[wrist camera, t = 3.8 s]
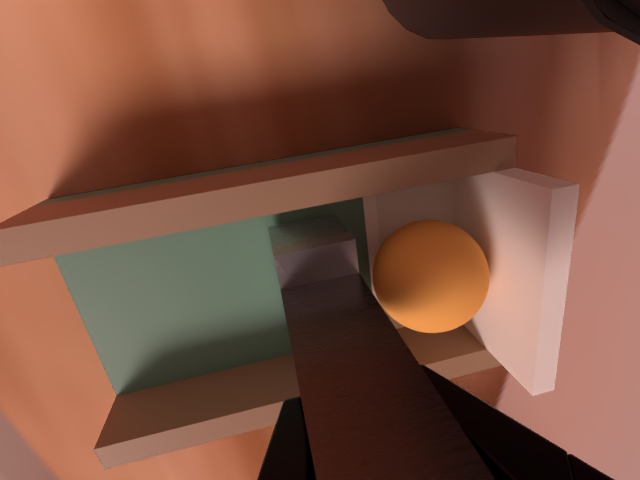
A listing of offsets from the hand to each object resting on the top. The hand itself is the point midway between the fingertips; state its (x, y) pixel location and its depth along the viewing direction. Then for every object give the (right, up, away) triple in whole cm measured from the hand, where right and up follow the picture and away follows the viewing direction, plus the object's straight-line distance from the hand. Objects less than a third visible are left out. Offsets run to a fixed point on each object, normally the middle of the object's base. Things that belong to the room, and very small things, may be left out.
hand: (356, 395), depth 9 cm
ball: (+3, +2, +5) cm, 6 cm away
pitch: (-2, +3, +7) cm, 8 cm away
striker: (-1, +2, +6) cm, 6 cm away
